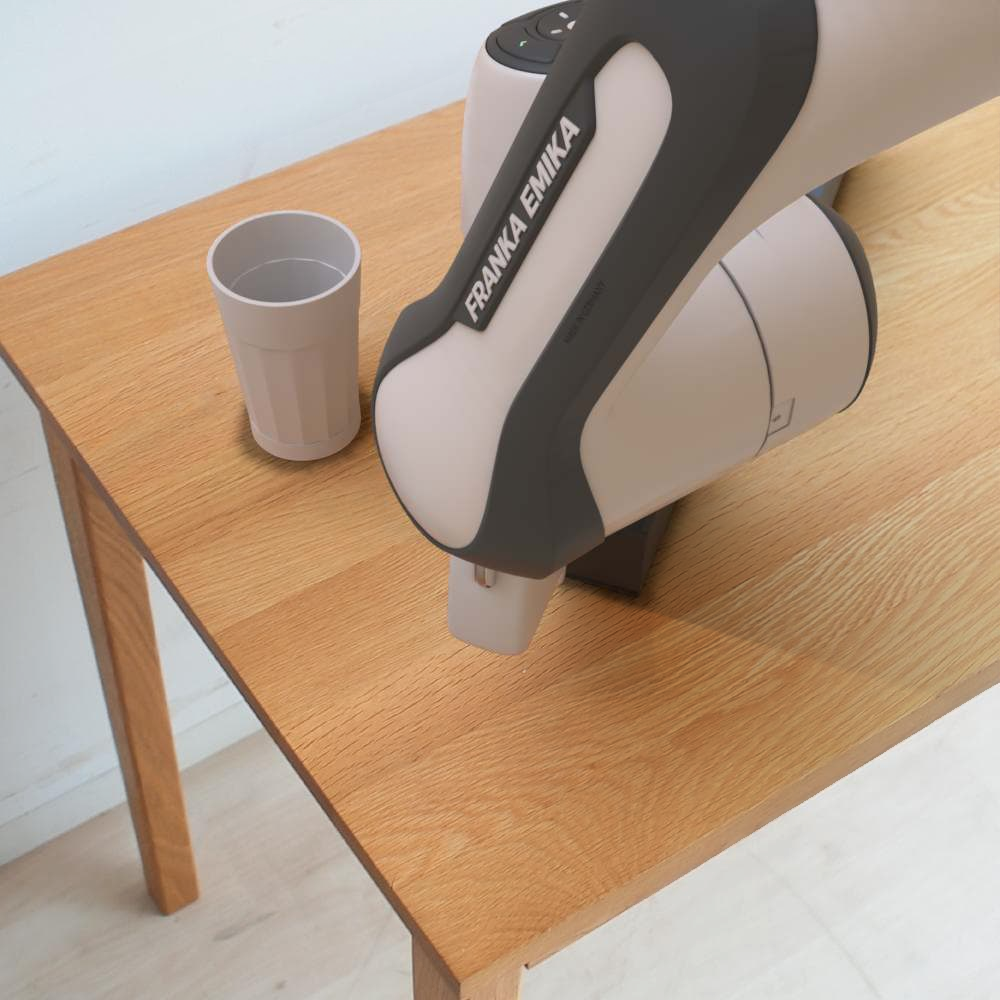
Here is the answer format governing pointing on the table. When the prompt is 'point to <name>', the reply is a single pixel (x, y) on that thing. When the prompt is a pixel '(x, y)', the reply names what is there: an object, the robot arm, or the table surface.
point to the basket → (624, 555)
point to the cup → (293, 328)
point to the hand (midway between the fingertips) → (554, 562)
